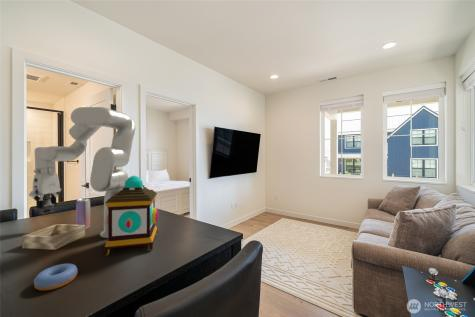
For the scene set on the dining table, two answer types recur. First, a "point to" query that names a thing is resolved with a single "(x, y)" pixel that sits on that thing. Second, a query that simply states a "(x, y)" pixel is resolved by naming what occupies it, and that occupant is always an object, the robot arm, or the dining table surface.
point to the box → (53, 236)
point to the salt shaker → (47, 204)
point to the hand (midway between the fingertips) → (46, 206)
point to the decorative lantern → (131, 216)
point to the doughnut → (55, 277)
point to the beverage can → (83, 212)
